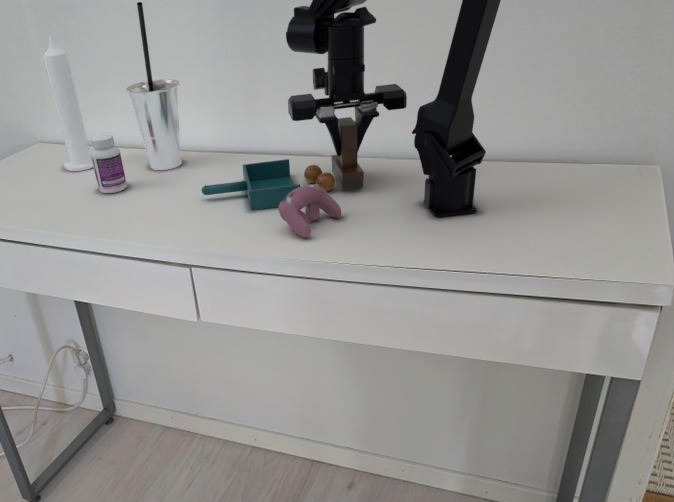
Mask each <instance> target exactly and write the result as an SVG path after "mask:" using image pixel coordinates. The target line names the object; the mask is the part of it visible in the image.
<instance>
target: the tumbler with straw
mask: <svg viewBox="0 0 674 502" xmlns="http://www.w3.org/2000/svg"><path fill="white" fill-rule="evenodd" d="M136 7H137V13H138V20H139V22H138V23H139V30H140V36H141V42H142V50H143V57H144V58H143V59H144V64H145V72H146V79H147V80H145V81H144V80H143V81H140V82H136V83H132V84H130V85H128V86H127V87H126V89H125V90H126V92H128V93H129V97H130V100H131V103H132V107H133V110H134V114H135V117H136V121H137V126H138V128H139V131H140V135H141V137H142V141H143V145H144V149H145V152H146V156H147V160H148V163H149V168H150V169H151V170H155V171H168V170H172V169H176V168H178V167H180V166H181V165H182V163H183V161H182V148H181V137H180V136H181V135H180V130H181V129H180V113H179V94H178V86H179V85H180V81H178V80H177V79H171V78H168V79H167V78H163V79H162V78H161V79H159V78H158V79H153V75H152V67H151V60H150V51H149V43H148V37H147V29H146V21H145V13H144V6H143V2H141V1H138V2H136Z"/></svg>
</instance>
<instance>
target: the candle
mask: <svg viewBox="0 0 674 502" xmlns="http://www.w3.org/2000/svg"><path fill="white" fill-rule="evenodd" d="M48 39H49V40H48V44H49V45H48V48H47V49H46V51H45V53H43V55H42V56H43V61H44V65H45V69H46V73H47V77H48V81H49V85H50V89H51V93H52V98H53V102H54V105H55V109H56V114H57V117H58V121H59V125H60V129H61V133H62V137H63V141H64V145H65V149H66V154H67V157H68V161H65V162H64V164H63V166H64V167H63V168H64V170H66V171H69V172H80V171H81V172H82V171H86V170H90V169H92V168H93V169H94V167H93V163H92V159H91V150H90V146H89V142H88V138H87V133H86V128H85V125H84V120H83V116H82V112H81V108H80V103H79V99H78V94H77V90H76V86H75V82H74V76H73V72H72V69H71V64H70V60H69V56H68V55H69V54H68V53H67V51H66V50H64V49H62V48H61V47H60V46H58V44H57V43H56V41H55V39H54V37H53V35H52V34H49V35H48Z"/></svg>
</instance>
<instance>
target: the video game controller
mask: <svg viewBox="0 0 674 502" xmlns="http://www.w3.org/2000/svg"><path fill="white" fill-rule="evenodd" d="M302 209H304V211H303V210H302ZM321 210H322V211H323V212H324V213H326V214H327V215H328V216H330V217H332V218H335V219H339V218H340V217H341V216H342V208H341V207H340V205H339V203H338V202H337V201H336V200H335V199H334V198H333V197H332V196H330V194H329V193H328V191H327V192H326V191H325V190H324V189H323V188H322V187H319V186H318V184H316V183H314V184H307V185H306V184H305V185H302V186H301V185H300V187H298V188H296V189H294V190H293V191H291V192H290V193H289V194H288V195H287V196H286V197H285V198H284V199H283V201H281V203H280V204H279V207H278V213H279V216H280V218H281V219H282V220H283V221H284V222H286V224H287V225H288V226H289V228H290V229H291V230H292V231H293V232H294V233H296V234H297V235H299V237H302V238H304V239H307V238H309V237H310V236H311V228H310V226H309V221H310V222H314V221H317V220H319V219H320V216H321V212H320V211H321Z"/></svg>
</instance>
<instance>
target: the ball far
mask: <svg viewBox="0 0 674 502" xmlns="http://www.w3.org/2000/svg"><path fill="white" fill-rule="evenodd" d="M321 173H323V170H322V168H321V167H320V166H319V165H317V164H311V165H308V166H307V167H306V168H305V169H304V172H303V177H304V179H305V181H306V182H307V183H309V184H311V185H314V184H316V181H317V178H318V176H319V175H320V174H321Z"/></svg>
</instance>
